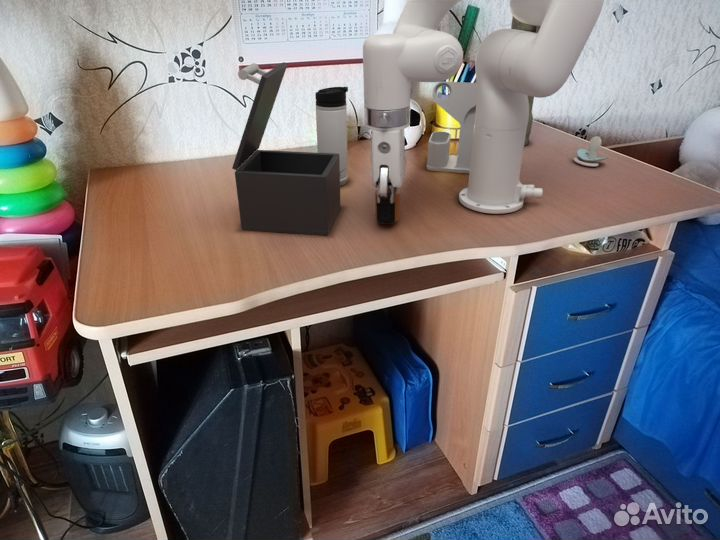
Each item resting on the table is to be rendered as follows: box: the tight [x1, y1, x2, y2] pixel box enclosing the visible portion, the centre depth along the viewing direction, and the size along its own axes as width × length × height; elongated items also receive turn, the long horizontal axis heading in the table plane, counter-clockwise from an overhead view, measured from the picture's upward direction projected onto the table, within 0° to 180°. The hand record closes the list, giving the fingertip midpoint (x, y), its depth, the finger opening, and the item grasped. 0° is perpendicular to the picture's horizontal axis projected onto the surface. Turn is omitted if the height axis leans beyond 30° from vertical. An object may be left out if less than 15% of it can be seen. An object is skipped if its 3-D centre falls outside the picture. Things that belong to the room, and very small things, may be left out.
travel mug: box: [315, 86, 349, 187], centre depth 112 cm, size 6×7×20 cm
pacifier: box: [573, 135, 609, 168], centre depth 126 cm, size 7×6×6 cm
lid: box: [231, 61, 289, 171], centre depth 92 cm, size 17×12×5 cm
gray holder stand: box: [425, 81, 477, 174], centre depth 122 cm, size 17×10×18 cm, turn 76°
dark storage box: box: [234, 149, 341, 237], centre depth 99 cm, size 16×12×11 cm
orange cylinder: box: [374, 188, 401, 222], centre depth 97 cm, size 4×4×5 cm
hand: (387, 215), depth 99 cm, fingers closed on orange cylinder, 4 cm apart
